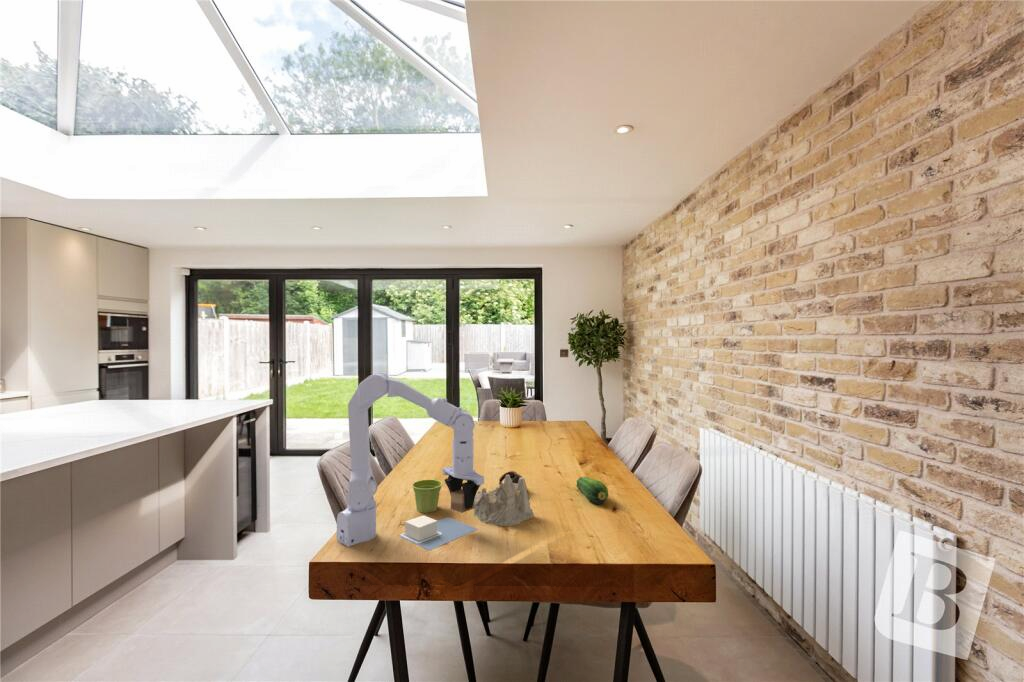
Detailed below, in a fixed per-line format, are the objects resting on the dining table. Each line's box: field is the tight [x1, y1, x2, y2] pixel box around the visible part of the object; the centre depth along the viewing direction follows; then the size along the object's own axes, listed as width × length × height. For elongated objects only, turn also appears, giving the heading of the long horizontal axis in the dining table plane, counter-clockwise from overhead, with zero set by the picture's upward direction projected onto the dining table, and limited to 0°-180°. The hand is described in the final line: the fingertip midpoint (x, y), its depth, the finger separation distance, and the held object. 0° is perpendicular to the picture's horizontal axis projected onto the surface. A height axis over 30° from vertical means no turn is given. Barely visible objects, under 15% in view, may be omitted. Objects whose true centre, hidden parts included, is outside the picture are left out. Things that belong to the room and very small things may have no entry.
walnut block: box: [450, 488, 474, 513], centre depth 120 cm, size 4×4×4 cm
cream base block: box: [404, 514, 438, 541], centre depth 117 cm, size 6×6×4 cm
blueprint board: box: [398, 516, 478, 551], centre depth 118 cm, size 17×13×1 cm
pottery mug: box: [498, 470, 528, 492], centre depth 156 cm, size 12×10×8 cm
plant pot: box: [411, 478, 443, 513], centre depth 136 cm, size 9×9×9 cm
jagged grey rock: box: [473, 475, 535, 527], centre depth 131 cm, size 16×16×15 cm
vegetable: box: [575, 476, 609, 505], centre depth 150 cm, size 7×7×20 cm
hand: (462, 505), depth 119 cm, fingers closed on walnut block, 4 cm apart
